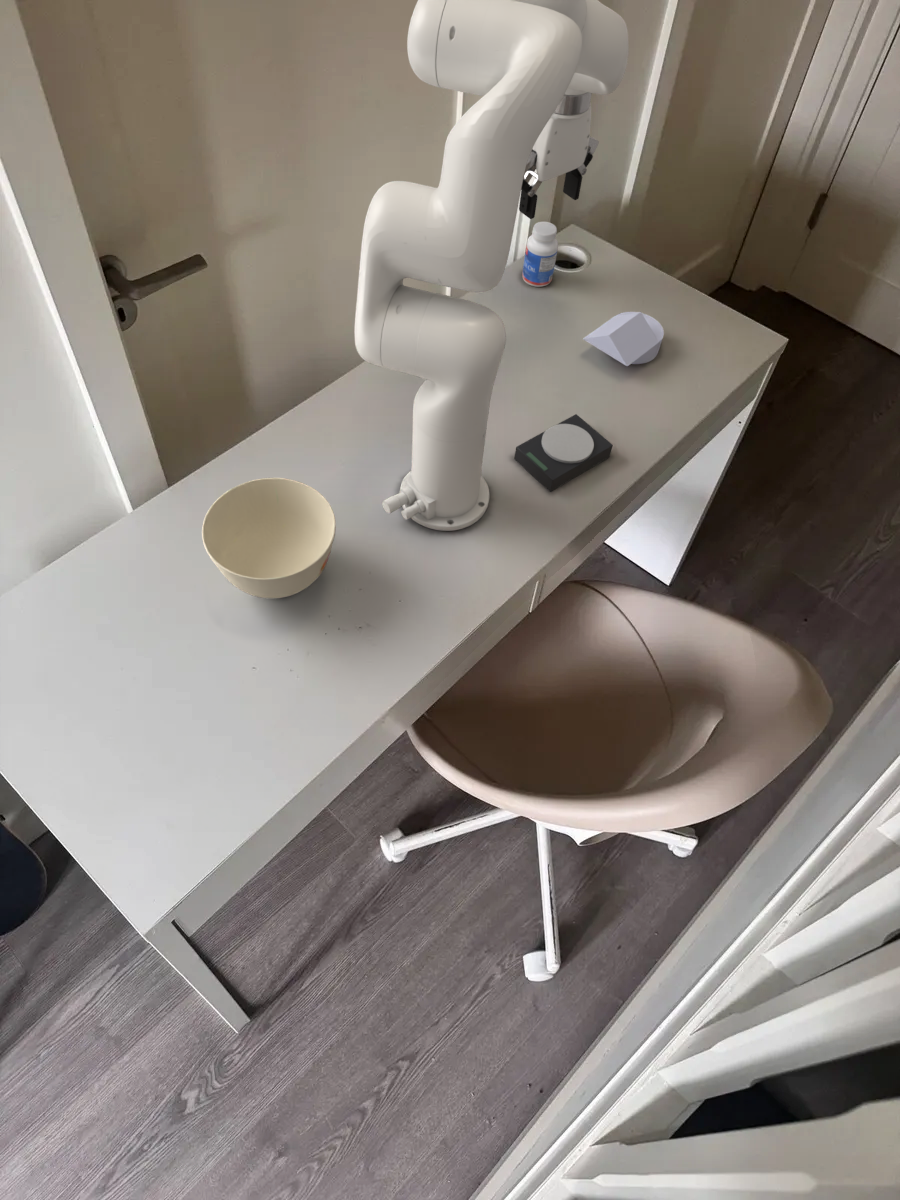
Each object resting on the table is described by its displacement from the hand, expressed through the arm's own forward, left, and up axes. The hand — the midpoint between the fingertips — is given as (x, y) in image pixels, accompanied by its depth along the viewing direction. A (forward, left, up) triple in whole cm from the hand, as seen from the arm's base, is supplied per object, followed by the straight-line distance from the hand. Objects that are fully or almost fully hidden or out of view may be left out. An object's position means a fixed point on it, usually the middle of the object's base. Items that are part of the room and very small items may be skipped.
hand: (548, 205), depth 141 cm
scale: (-26, -35, -14) cm, 46 cm away
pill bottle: (0, 0, -14) cm, 14 cm away
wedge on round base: (-1, -23, -14) cm, 27 cm away
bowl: (-71, -29, -14) cm, 78 cm away
